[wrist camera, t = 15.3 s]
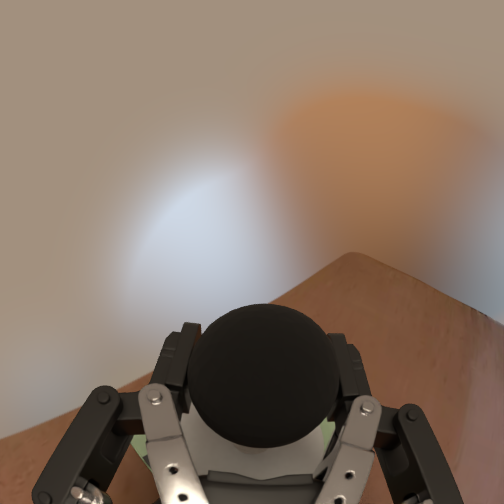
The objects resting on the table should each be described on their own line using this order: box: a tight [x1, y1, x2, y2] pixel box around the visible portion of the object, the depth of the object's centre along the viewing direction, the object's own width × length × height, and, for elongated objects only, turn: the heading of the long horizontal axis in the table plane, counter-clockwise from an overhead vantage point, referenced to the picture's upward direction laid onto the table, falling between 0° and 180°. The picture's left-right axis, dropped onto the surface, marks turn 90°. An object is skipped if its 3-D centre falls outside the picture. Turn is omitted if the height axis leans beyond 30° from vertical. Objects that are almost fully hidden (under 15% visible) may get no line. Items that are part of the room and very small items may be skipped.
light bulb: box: [187, 304, 340, 454], centre depth 11 cm, size 6×6×10 cm
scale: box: [131, 402, 335, 480], centre depth 14 cm, size 12×10×3 cm
